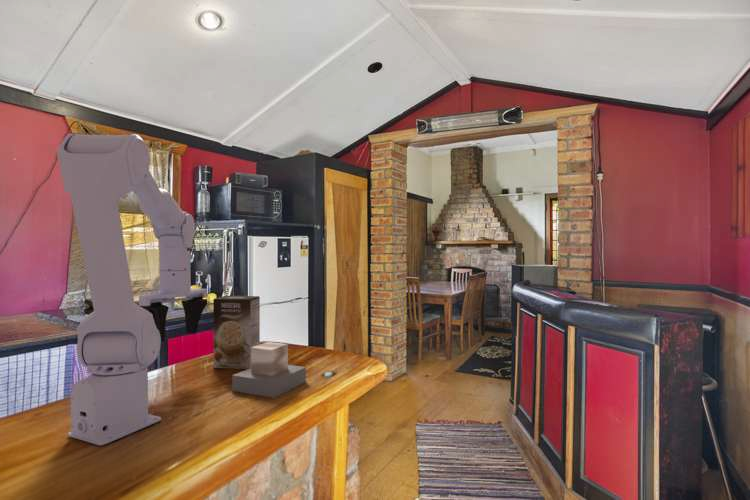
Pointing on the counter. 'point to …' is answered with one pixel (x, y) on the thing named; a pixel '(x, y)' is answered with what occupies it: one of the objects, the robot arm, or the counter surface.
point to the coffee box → (235, 330)
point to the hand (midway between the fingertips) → (175, 337)
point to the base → (269, 382)
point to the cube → (269, 358)
